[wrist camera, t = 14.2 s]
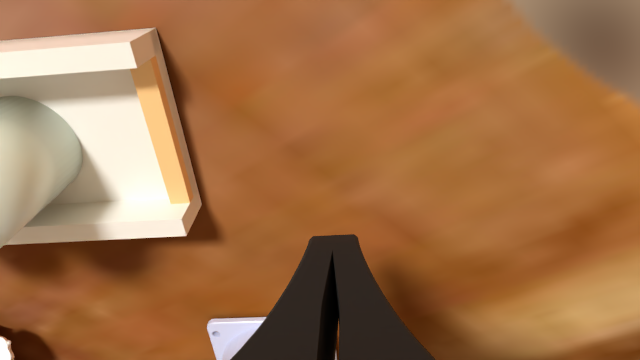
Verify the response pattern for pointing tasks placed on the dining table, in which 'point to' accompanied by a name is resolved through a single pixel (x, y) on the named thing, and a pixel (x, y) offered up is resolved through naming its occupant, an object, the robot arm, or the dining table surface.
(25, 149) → the jar
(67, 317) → the dining table surface
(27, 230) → the tray
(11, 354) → the white irregular branching piece
